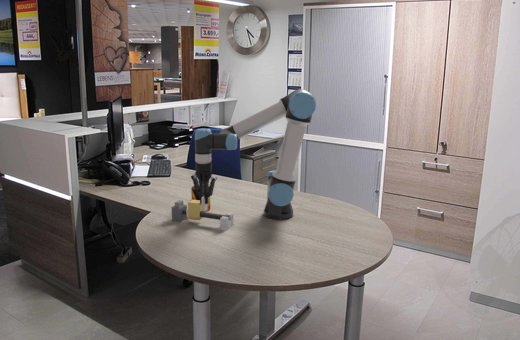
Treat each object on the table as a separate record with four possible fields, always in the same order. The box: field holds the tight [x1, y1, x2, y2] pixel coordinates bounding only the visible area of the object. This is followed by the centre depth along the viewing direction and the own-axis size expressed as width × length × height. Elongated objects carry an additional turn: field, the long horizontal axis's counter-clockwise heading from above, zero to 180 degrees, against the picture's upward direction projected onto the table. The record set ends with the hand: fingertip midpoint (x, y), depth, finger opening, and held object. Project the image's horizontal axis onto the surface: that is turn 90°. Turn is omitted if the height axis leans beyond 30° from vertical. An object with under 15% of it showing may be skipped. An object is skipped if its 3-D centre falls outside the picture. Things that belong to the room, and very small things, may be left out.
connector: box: [171, 199, 188, 223], centre depth 221 cm, size 5×6×9 cm
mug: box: [190, 185, 211, 213], centre depth 235 cm, size 10×14×12 cm
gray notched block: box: [219, 212, 235, 232], centre depth 212 cm, size 3×8×6 cm, turn 158°
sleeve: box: [187, 199, 204, 221], centre depth 218 cm, size 6×4×8 cm
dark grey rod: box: [183, 208, 229, 221], centre depth 217 cm, size 28×4×4 cm, turn 68°
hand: (204, 209), depth 216 cm, fingers closed
